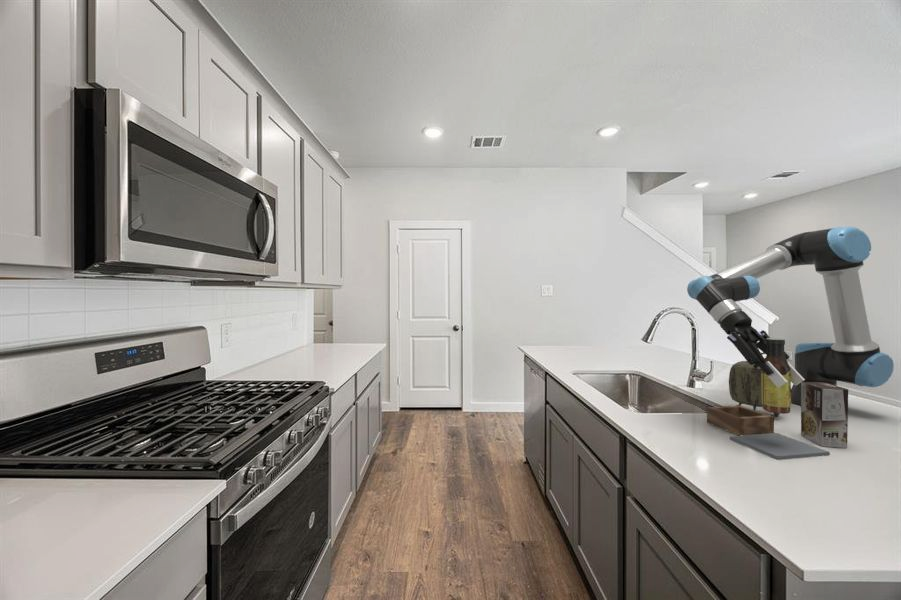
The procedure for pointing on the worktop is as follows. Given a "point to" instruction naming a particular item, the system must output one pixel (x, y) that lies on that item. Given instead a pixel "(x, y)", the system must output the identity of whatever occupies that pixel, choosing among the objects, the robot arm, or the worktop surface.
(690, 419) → the worktop surface
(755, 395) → the tabletop clock
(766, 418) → the bottle holder
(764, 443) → the rubber mat
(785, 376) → the sauce bottle
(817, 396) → the coffee box
